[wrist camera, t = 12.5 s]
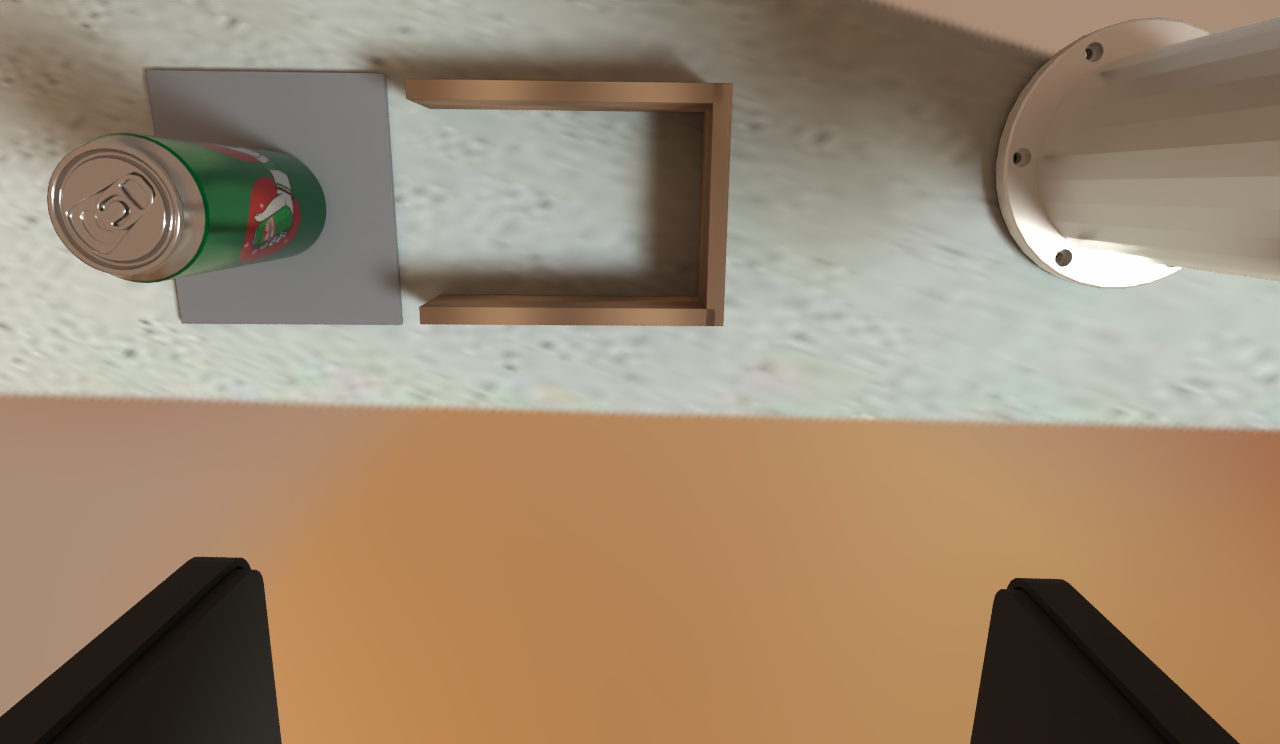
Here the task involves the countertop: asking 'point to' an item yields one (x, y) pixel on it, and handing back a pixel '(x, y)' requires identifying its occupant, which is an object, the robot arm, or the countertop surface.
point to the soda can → (181, 206)
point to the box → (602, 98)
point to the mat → (342, 163)
